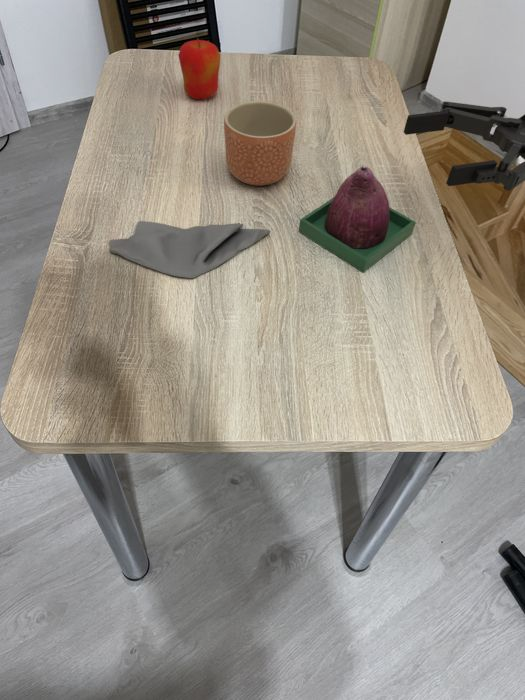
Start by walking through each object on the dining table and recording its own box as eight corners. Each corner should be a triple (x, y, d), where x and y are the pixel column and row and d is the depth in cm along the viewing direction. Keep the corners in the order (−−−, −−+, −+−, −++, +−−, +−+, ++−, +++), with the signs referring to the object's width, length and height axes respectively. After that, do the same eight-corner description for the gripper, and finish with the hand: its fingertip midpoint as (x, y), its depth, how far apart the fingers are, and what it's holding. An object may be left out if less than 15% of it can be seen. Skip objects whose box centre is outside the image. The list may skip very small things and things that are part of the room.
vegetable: (360, 270, 89) (376, 214, 75) (312, 236, 92) (318, 176, 78) (397, 229, 92) (419, 168, 78) (349, 197, 95) (362, 133, 81)
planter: (291, 157, 104) (296, 101, 96) (291, 196, 97) (296, 139, 88) (227, 153, 104) (226, 98, 95) (222, 192, 96) (221, 135, 88)
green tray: (412, 234, 91) (416, 221, 89) (363, 272, 85) (366, 260, 83) (348, 197, 97) (351, 185, 95) (298, 231, 91) (300, 219, 88)
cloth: (100, 277, 82) (97, 266, 80) (115, 219, 90) (113, 208, 89) (271, 281, 83) (271, 271, 81) (269, 224, 91) (270, 213, 90)
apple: (197, 109, 114) (194, 50, 105) (173, 93, 118) (168, 35, 108) (228, 97, 118) (228, 39, 108) (204, 82, 121) (202, 25, 112)
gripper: (592, 203, 77) (462, 224, 73) (498, 115, 92) (385, 129, 88) (622, 155, 71) (482, 175, 67) (517, 70, 86) (396, 82, 82)
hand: (427, 149), depth 77 cm, fingers open, 13 cm apart
